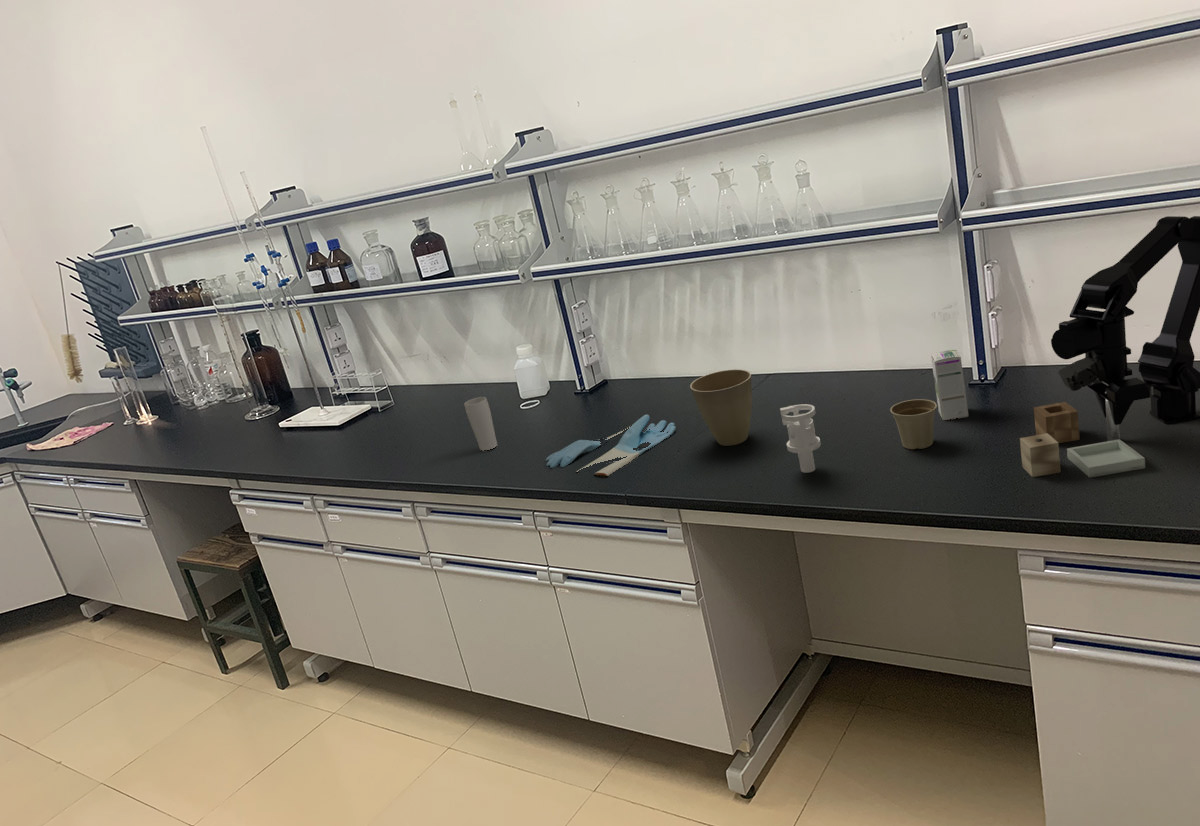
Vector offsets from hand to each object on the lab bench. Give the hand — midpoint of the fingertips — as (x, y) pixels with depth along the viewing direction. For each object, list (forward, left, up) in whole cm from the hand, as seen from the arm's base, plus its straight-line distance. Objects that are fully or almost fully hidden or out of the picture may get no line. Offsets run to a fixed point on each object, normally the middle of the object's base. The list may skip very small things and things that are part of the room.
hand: (1112, 420), depth 166 cm
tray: (+6, +9, -4) cm, 11 cm away
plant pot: (+72, -38, -4) cm, 82 cm away
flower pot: (+33, -15, -4) cm, 36 cm away
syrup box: (+22, -28, -4) cm, 36 cm away
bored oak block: (+8, -6, -4) cm, 11 cm away
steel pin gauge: (0, 0, -4) cm, 4 cm away
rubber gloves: (+104, -50, -5) cm, 116 cm away
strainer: (+57, -12, -4) cm, 58 cm away
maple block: (+16, +7, -4) cm, 18 cm away
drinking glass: (+142, -68, -4) cm, 158 cm away
